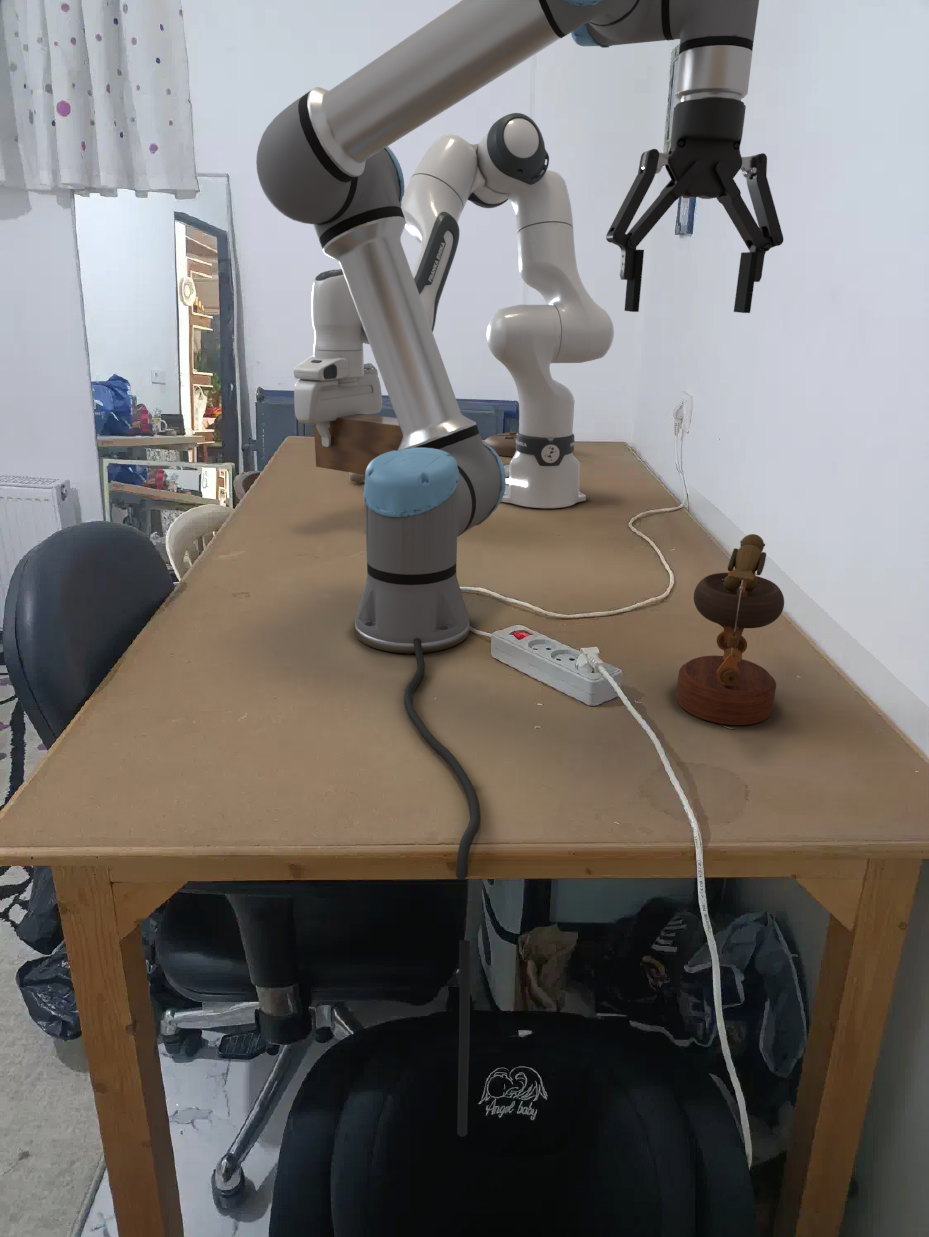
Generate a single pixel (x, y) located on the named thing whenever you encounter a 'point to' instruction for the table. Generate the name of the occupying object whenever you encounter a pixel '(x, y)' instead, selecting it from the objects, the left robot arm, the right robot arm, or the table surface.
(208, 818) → the table surface
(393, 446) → the box
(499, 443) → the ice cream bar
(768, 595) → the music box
